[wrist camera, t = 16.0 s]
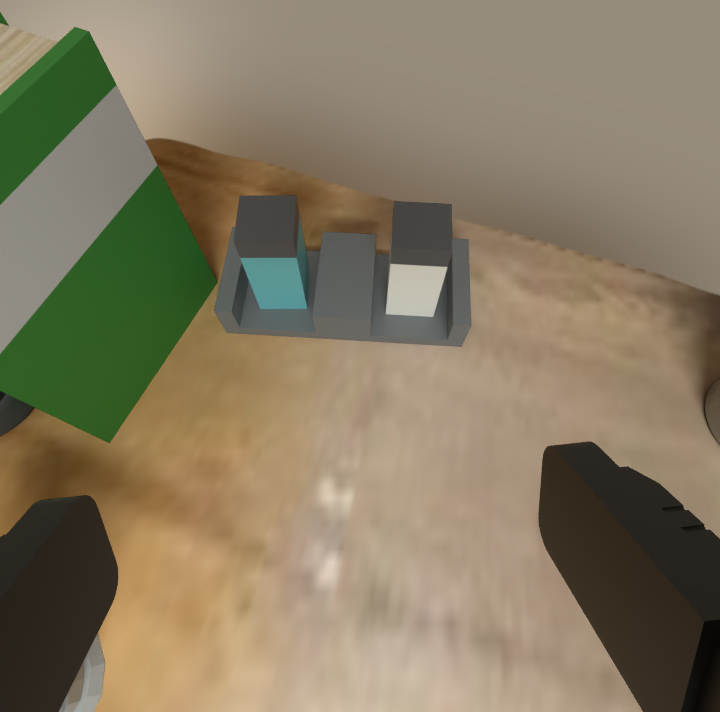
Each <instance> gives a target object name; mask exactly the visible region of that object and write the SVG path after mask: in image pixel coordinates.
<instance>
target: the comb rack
mask: <svg viewBox="0 0 720 712" xmlns="http://www.w3.org/2000/svg"><path fill="white" fill-rule="evenodd" d="M235 228H236V227H232V232H231V236H230V241H229V246H228V250H227V255H226V259H225V264H224V268H223V273H222V277H221V282H220V286H219V291H218V295H217V300H216V304H215V309H214V311H215V313H216V315H217V317H218V318H219V320H220V322H221V323H222V325H223V327H224V329H225V330H226V332H227V333H239V334H256V335H273V336H290V337H307V338H324V339H340V340H357V341H374V342H391V343H408V344H425V345H441V346H458V347H462V344H463V342H464V340H465V338H466V336H467V334H468V331H469V329H470V327H471V307H470V275H469V244H468V239H453V238H452V254H451V257H450V260H449V264H448V267H447V271H446V274H445V278H444V281H443V285H442V288H441V291H440V295H439V298H438V302H437V305H436V309H435V312H434V316H433V317H425V316H408V315H391V314H386V297H387V278H388V265H389V255H385V254H376V234H358V233H339V232H323V234H322V243H321V251H311V250H306V254H307V259H308V265H309V285H308V306H307V309H260V307H259V304H258V302H257V299H256V297H255V294H254V292H253V289H252V287H251V284H250V282H249V279H248V277H247V274H246V272H245V269H244V267H243V264H242V262H241V259H240V257H239V254H238V252H237V249H236V247H235V244H234V235H235Z"/></svg>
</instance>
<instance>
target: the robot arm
mask: <svg viewBox="0 0 720 712" xmlns="http://www.w3.org/2000/svg"><path fill="white" fill-rule="evenodd" d="M705 412H706V418H707V421H708V424H709V427H710V429H711V431H712V433H713V435H714V436H715V438H716V440H717V441H718V442H719V444H720V378H719V379H718V380H717V381H715V382H714V384H713V385H712V386H711V387H710V389H709V391H708V394H707V396H706V402H705ZM539 527H540V532H541V536H542V539H543V542H544V545H545V547H546V550H547V551H548V553H549V555H550V557H551V558H552V560H553V562H554V563H555V565H556V567H557V568H558V570H559V572H560V573H561V575H562V577H563V578H564V580H565V582H566V583H567V585H568V587H569V588H570V590H571V592H572V594H573V595H574V597H575V599H576V600H577V602H578V604H579V605H580V607H581V609H582V610H583V612H584V614H585V615H586V617H587V619H588V620H589V622H590V624H591V625H592V627H593V629H594V630H595V632H596V634H597V635H598V637H599V639H600V640H601V642H602V644H603V645H604V647H605V649H606V650H607V652H608V654H609V655H610V657H611V659H612V660H613V662H614V664H615V665H616V667H617V669H618V670H619V672H620V674H621V675H622V677H623V679H624V680H625V682H626V684H627V685H628V687H629V689H630V690H631V692H632V694H633V695H634V697H635V699H636V700H637V702H638V704H639V706H640V707H641V709H642V711H643V712H720V539H719V538H718V537H717V536H716V535H715V534H714V533H713V532H712V531H711V530H706V529H705V527H704V524H703V523H702V522H701V521H700V520H699V519H698V518H696V517H695V516H694V515H693V514H692V513H691V512H690V511H689V510H684V508H683V505H682V504H681V503H680V502H679V501H678V500H677V499H676V498H675V497H674V496H672V495H671V494H670V493H669V492H668V491H667V490H666V489H665V488H664V487H663V486H661V485H660V484H659V483H657V482H656V481H654V480H652V479H650V478H648V477H646V476H644V475H643V474H641V473H639V472H637V471H635V470H633V469H631V468H629V467H619V466H618V465H617V464H616V463H615V462H614V461H613V460H612V459H611V458H610V457H609V456H608V455H607V454H606V453H604V452H603V451H602V450H601V449H600V448H599V447H598V446H597V445H596V444H595V443H593V442H581V443H571V444H562V445H553V446H548V447H547V448H546V449H545V451H544V454H543V461H542V475H541V488H540V502H539ZM117 585H118V567H117V563H116V559H115V556H114V553H113V551H112V548H111V545H110V542H109V539H108V536H107V533H106V530H105V527H104V524H103V521H102V519H101V516H100V513H99V510H98V507H97V505H96V503H95V501H94V500H93V499H92V498H91V497H90V496H87V495H84V496H75V497H66V498H57V499H47V500H40V501H38V502H36V503H35V504H33V505H32V506H31V507H30V509H29V510H28V511H27V512H26V513H25V514H24V515H23V516H22V518H21V519H20V520H19V521H18V522H17V523H16V524H15V526H14V527H13V528H12V529H11V530H10V531H9V532H8V533H7V535H3V536H1V537H0V712H59V710H60V708H61V706H62V704H63V702H64V700H65V698H66V696H67V694H68V692H69V690H70V688H71V686H72V684H73V682H74V680H75V678H76V676H77V674H78V672H79V670H80V668H81V666H82V664H83V662H84V660H85V658H86V656H87V653H88V651H89V649H90V647H91V645H92V643H93V641H94V639H95V637H96V635H97V633H98V631H99V629H100V627H101V625H102V623H103V621H104V619H105V617H106V615H107V613H108V611H109V609H110V607H111V605H112V603H113V600H114V597H115V594H116V590H117Z"/></svg>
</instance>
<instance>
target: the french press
mask: <svg viewBox="0 0 720 712" xmlns="http://www.w3.org/2000/svg"><path fill="white" fill-rule="evenodd" d="M104 668H105V661H104V657H103V653H102V649H101V645H100V641H99V637H98V635H96V637H95V639H94V641H93V643H92V645H91V647H90V649H89V651H88V653H87V656H86V658H85V660H84V662H83V664H82V666H81V668H80V670H79V672H78V674H77V676H76V678H75V680H74V682H73V684H72V686H71V688H70V690H69V692H68V694H67V696H66V698H65V700H64V702H63V704H62V706H61V708H60V710H59V712H94V711H95V708H96V706H97V704H98V702H99V699H100V697H101V694H102V686H103V677H104Z"/></svg>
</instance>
